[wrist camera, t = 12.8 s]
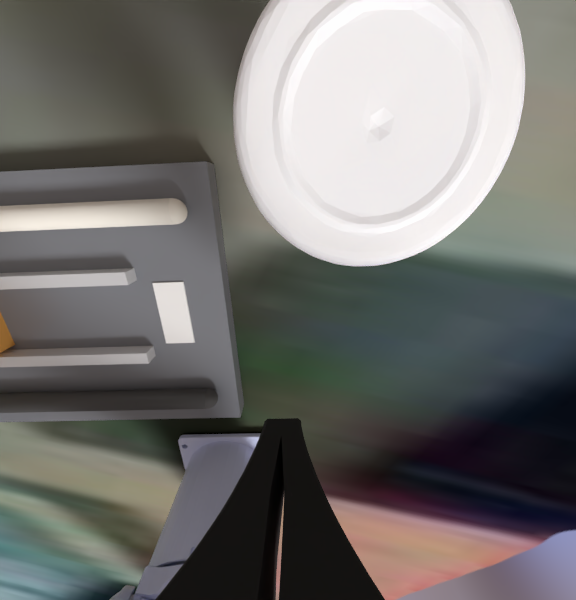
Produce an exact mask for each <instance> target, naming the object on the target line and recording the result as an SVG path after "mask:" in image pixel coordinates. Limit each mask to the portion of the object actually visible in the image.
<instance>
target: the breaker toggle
mask: <svg viewBox="0 0 576 600" xmlns="http://www.w3.org/2000/svg"><path fill="white" fill-rule="evenodd" d="M14 345H15V343H14V341H13V339H12V336H11V334H10V332H9V330H8V328H7V325H6V323H5V321H4V319H3V317H2V314H1V312H0V353H1V352H2V351H4V350H6V349H8V348H10V347H12V346H14Z"/></svg>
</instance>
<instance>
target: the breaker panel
mask: <svg viewBox="0 0 576 600" xmlns="http://www.w3.org/2000/svg"><path fill="white" fill-rule="evenodd" d="M164 198H175V199H178V200H180V201H182V202H183V203H184V204H185V206H186V208H187V212H188V214H187V218H186V219H185V221H184V222H182V223H180V224H174V225H150V226H127V227H103V228H80V229H56V230H33V231H10V232H0V312H1V314H2V317H3V319H4V321H5V323H6V325H7V328H8V330H9V332H10V334H11V336H12V339H13V341H14V343H15V345H14V346H12V347H10V348H8V349H6V350H4V351H2V352H1V353H0V393H30V392H73V391H117V390H160V389H204V388H210V389H213V390H215V391H216V392H217V394H218V401H217V403H216V405H215V406H214V407H212V408H209V409H173V410H124V411H75V412H27V413H0V422H32V421H84V420H135V419H187V418H238V417H241V414H242V410H243V406H244V400H243V392H242V384H241V376H240V368H239V360H238V352H237V344H236V336H235V328H234V320H233V312H232V304H231V296H230V288H229V280H228V272H227V264H226V256H225V248H224V240H223V232H222V224H221V216H220V208H219V200H218V192H217V184H216V176H215V168H214V164H212V163H209V162H207V161H205V162H185V163H165V164H145V165H125V166H105V167H85V168H65V169H45V170H25V171H5V172H0V206H11V205H33V204H55V203H77V202H98V201H120V200H142V199H164Z"/></svg>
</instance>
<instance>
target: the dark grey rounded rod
mask: <svg viewBox="0 0 576 600" xmlns="http://www.w3.org/2000/svg"><path fill="white" fill-rule="evenodd" d="M217 401H218V394H217V392H216V391H215V390H213V389H210V388H204V389H160V390H117V391H73V392H30V393H0V413H27V412H75V411H124V410H173V409H209V408H212V407H214V406H215V405H216V403H217Z"/></svg>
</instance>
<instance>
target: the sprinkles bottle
mask: <svg viewBox="0 0 576 600" xmlns="http://www.w3.org/2000/svg"><path fill="white" fill-rule="evenodd" d="M524 90H525V61H524V51H523V44H522V39H521V33H520V29H519V26H518V23H517V20H516V17H515V14H514V11H513V8H512V5H511V3H510V1H509V0H270V1H269V2H268V4H267V5H266V7H265V8H264V10H263V12H262V13H261V15H260V17H259V18H258V20H257V23H256V25H255V27H254V29H253V31H252V33H251V35H250V38H249V40H248V43H247V45H246V48H245V51H244V54H243V57H242V61H241V64H240V68H239V71H238V76H237V81H236V87H235V93H234V103H233V125H234V139H235V146H236V152H237V157H238V162H239V166H240V169H241V172H242V175H243V178H244V181H245V183H246V186H247V188H248V190H249V192H250V194H251V196H252V198H253V200H254V202H255V204H256V206H257V207H258V209H259V210H260V212H261V213H262V215H263V216H264V217H265V219H266V220H267V221H268V222H269V223H270V224H271V226H272V227H273V228H274V229H275V230H276V231H277V232H278V233H279V234H280V235H281V236H283V237H284V238H285V239H286V240H287V241H288V242H290V243H291V244H293V245H294V246H295V247H297V248H299V249H300V250H302V251H304V252H306V253H307V254H309V255H311V256H314V257H316V258H318V259H321V260H325V261H328V262H331V263H334V264H340V265H347V266H376V265H382V264H388V263H392V262H395V261H399V260H402V259H405V258H408V257H410V256H413V255H416V254H418V253H420V252H422V251H424V250H426V249H428V248H429V247H431V246H433V245H435V244H436V243H438V242H439V241H441V240H442V239H443V238H445V237H446V236H447V235H449V234H450V233H451V232H452V231H454V230H455V229H456V228H457V227H458V226H459V225H460V224H462V223H463V222H464V221H465V220H466V219H467V218H468V217H469V216H470V215H471V214H472V213H473V211H474V210H475V209H476V208H477V207H478V206H479V205H480V203H481V202H482V201H483V199H484V198H485V197H486V195H487V194H488V193H489V191H490V189H491V188H492V186H493V185H494V183H495V181H496V180H497V178H498V176H499V175H500V173H501V171H502V169H503V167H504V165H505V163H506V161H507V159H508V157H509V154H510V152H511V149H512V146H513V144H514V141H515V138H516V134H517V131H518V128H519V123H520V118H521V113H522V108H523V103H524Z"/></svg>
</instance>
